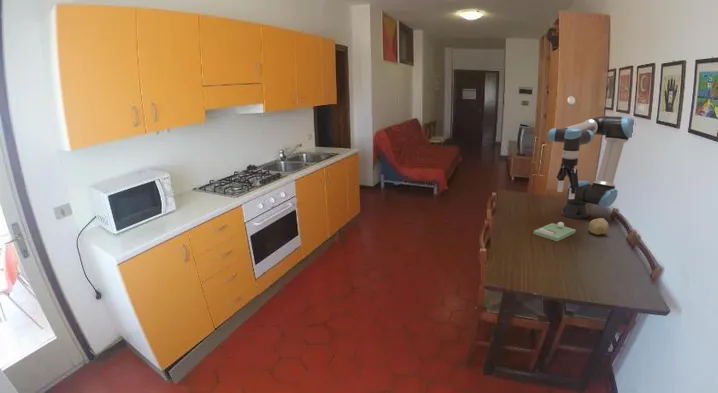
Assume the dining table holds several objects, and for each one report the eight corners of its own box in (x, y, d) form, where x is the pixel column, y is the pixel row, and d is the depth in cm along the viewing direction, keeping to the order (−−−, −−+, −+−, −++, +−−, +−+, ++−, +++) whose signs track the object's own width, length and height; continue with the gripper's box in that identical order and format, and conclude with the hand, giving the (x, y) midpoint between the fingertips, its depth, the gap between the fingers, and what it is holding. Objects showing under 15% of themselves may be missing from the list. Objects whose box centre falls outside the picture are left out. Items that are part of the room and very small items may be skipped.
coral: (617, 225, 203) (602, 219, 201) (606, 240, 206) (591, 234, 205) (606, 218, 211) (592, 212, 210) (596, 232, 215) (581, 226, 214)
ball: (558, 226, 217) (559, 220, 216) (564, 227, 214) (565, 222, 213) (555, 227, 215) (556, 221, 214) (561, 229, 212) (562, 223, 211)
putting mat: (551, 226, 223) (552, 219, 222) (575, 232, 212) (576, 226, 210) (533, 234, 212) (534, 227, 211) (557, 241, 201) (558, 234, 200)
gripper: (552, 153, 208) (549, 189, 214) (574, 162, 184) (569, 202, 191) (566, 153, 207) (562, 188, 214) (589, 162, 184) (584, 202, 190)
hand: (565, 195), depth 202 cm, fingers open, 13 cm apart
